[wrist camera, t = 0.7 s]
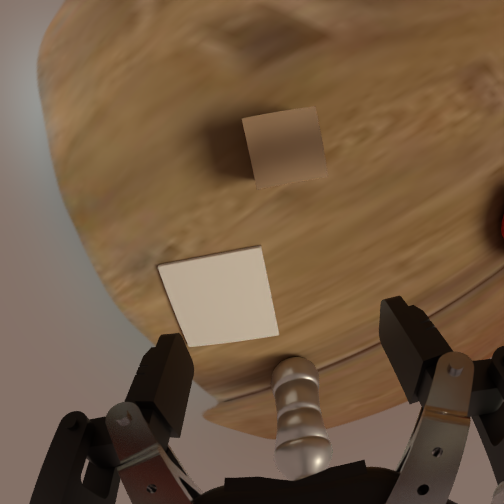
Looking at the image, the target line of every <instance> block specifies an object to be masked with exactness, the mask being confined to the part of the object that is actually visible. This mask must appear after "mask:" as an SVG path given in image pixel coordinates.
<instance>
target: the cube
mask: <svg viewBox="0 0 504 504" xmlns="http://www.w3.org/2000/svg"><path fill="white" fill-rule="evenodd" d="M242 122H243V127H244V132H245V136H246V141H247V145H248V150H249V154H250V159H251V164H252V168H253V173H254V178H255V183H256V187H257V190H258V189H263V188H268V187H274V186H279V185H285V184H290V183H296V182H301V181H307V180H313V179H319V178H326V177H328V171H327V165H326V159H325V153H324V148H323V142H322V137H321V131H320V126H319V121H318V116H317V111H316V107H315V106H314V107H306V108H299V109H292V110H285V111H279V112H273V113H267V114H262V115H257V116H252V117H247V118H242Z"/></svg>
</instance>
